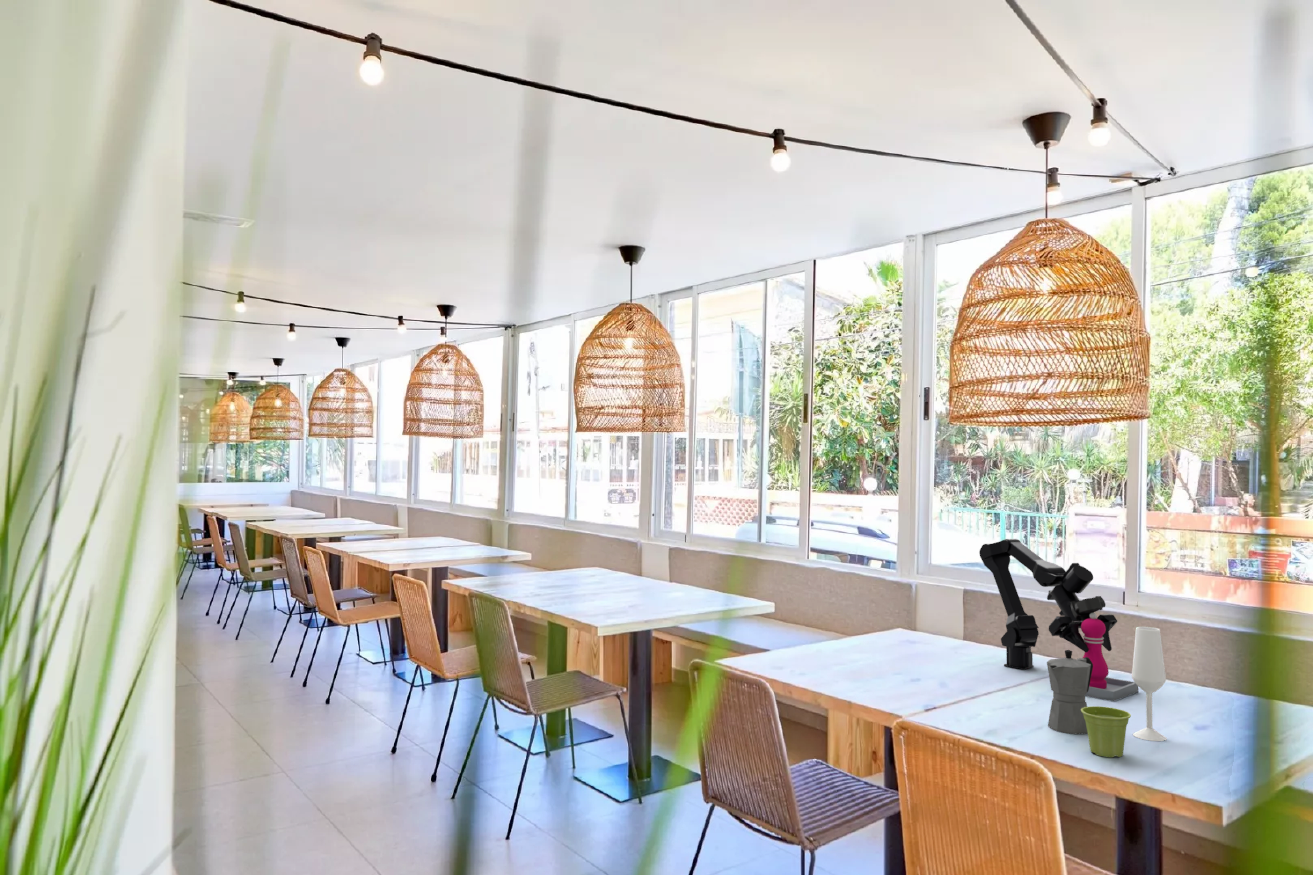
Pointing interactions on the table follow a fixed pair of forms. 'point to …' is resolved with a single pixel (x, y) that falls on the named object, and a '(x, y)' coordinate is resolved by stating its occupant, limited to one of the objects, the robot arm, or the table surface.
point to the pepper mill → (1095, 650)
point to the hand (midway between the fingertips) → (1099, 650)
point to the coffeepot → (1069, 693)
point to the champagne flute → (1148, 673)
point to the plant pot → (1106, 730)
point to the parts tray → (1113, 690)
